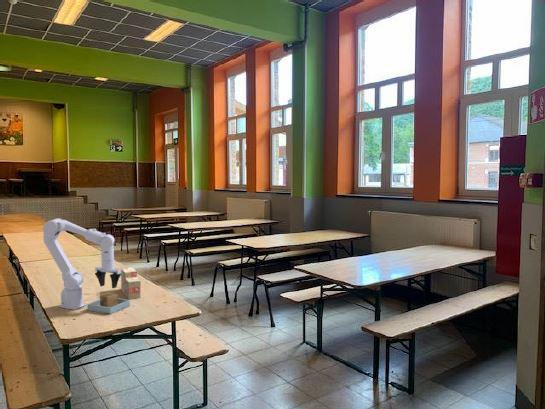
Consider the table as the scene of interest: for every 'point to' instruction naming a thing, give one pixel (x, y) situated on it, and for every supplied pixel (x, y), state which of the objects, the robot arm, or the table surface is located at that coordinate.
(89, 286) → the table surface
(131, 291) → the stack of blocks
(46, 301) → the table surface
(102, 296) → the walnut block
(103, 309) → the tray
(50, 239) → the robot arm
